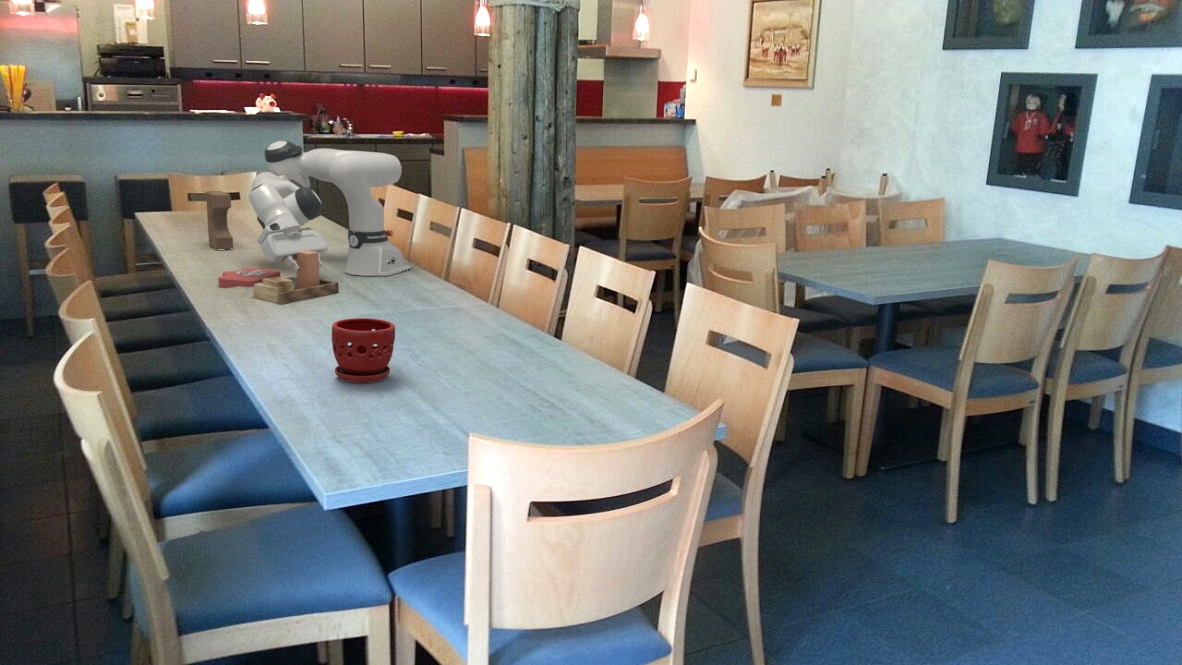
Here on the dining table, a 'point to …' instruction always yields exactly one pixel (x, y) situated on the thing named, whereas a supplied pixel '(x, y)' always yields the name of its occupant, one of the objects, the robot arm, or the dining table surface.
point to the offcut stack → (272, 288)
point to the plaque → (245, 277)
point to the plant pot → (362, 349)
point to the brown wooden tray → (307, 292)
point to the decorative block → (218, 219)
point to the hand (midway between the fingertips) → (309, 268)
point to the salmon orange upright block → (308, 269)
